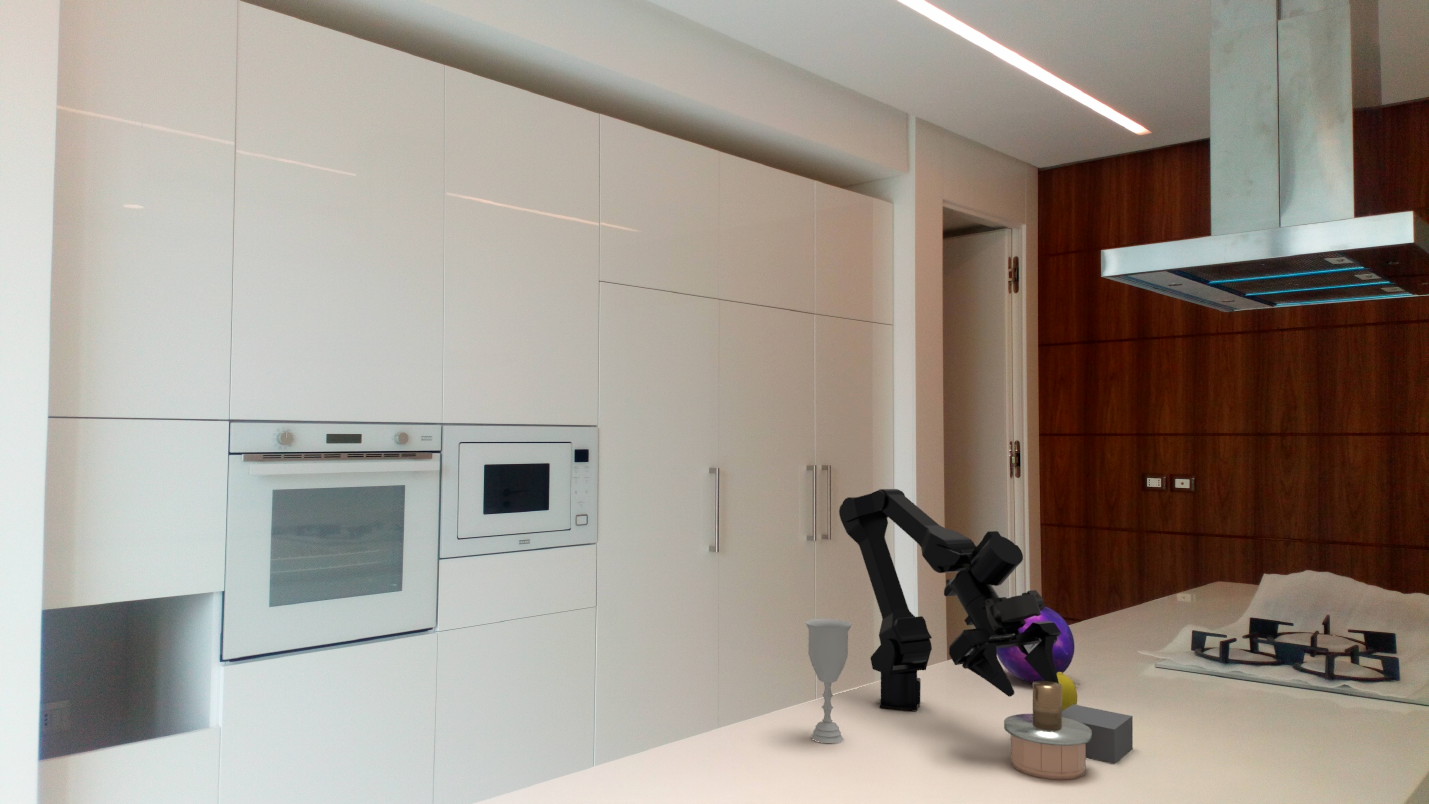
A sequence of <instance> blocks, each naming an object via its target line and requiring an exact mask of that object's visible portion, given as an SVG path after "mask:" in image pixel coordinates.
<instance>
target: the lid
mask: <svg viewBox="0 0 1429 804" xmlns="http://www.w3.org/2000/svg"><path fill="white" fill-rule="evenodd" d="M1003 729H1004V731H1006V733H1008V734H1009V735H1010V736H1011V735H1013V736H1015V737H1017V738H1020V739H1023V740H1027V741H1031V742H1035V743H1040V744H1047V745H1059V746H1071V745H1080V744H1084V743H1087V742H1089V741H1090V740H1091V739H1092V731H1091V729H1090V728H1089V727H1088V726H1086V725H1084V724H1083V723H1080V722H1078V721H1075V720H1072V719H1068V718H1064V717H1062V685H1061V684H1058V683H1055V682H1050V681H1035V682H1032V713H1019V714H1013V715H1010V716H1007V717H1006V718H1004V720H1003Z"/></svg>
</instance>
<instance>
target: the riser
mask: <svg viewBox="0 0 1429 804" xmlns="http://www.w3.org/2000/svg"><path fill="white" fill-rule="evenodd" d="M1062 717H1064V718H1068V719H1072V720H1075V721H1078V722H1080V723H1083V724H1084V725H1086V726H1088V727H1089V728H1090V729H1091V731H1092V739H1091V740H1090V741H1089V742H1087V743H1085V758H1087V759H1092V760H1096V761H1101V762H1105V763H1110V764H1114V765H1115V764H1116V763H1118V762H1119V761H1120V760H1121V759H1123V758H1124V756H1126V755H1127V754H1128V753H1129V752H1130V751H1132V750H1133V749H1134V747H1133V743H1134V742H1133V741H1134V740H1133V730H1134V729H1133V727H1134V725H1133V722H1134V721H1133V715H1129V714H1123V713H1118V712H1116V711H1115V712H1114V711H1109V710H1105V709H1099V708H1095V707H1088V706H1084V705H1079V704H1077V705H1075V704H1073V705H1071V706H1070V707H1068V708H1066V709H1065V710H1063V711H1062Z"/></svg>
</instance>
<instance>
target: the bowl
mask: <svg viewBox="0 0 1429 804" xmlns="http://www.w3.org/2000/svg"><path fill="white" fill-rule="evenodd" d="M1010 757H1011V758H1010V763H1011V765H1012V767H1013V768H1014V769H1016V770H1018V771H1019V772H1021V773H1023V774H1026V775H1029V776H1033V777H1038V778H1042V779H1047V780H1048V779H1049V780H1073V779H1078V778H1081V777H1083V775H1084V774H1085V768H1086V757H1085V743H1084V744H1080V745H1071V746H1059V745H1047V744H1040V743H1035V742H1031V741H1027V740H1023V739H1020V738H1017V737H1015V736H1013V735H1011V734H1010Z"/></svg>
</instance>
